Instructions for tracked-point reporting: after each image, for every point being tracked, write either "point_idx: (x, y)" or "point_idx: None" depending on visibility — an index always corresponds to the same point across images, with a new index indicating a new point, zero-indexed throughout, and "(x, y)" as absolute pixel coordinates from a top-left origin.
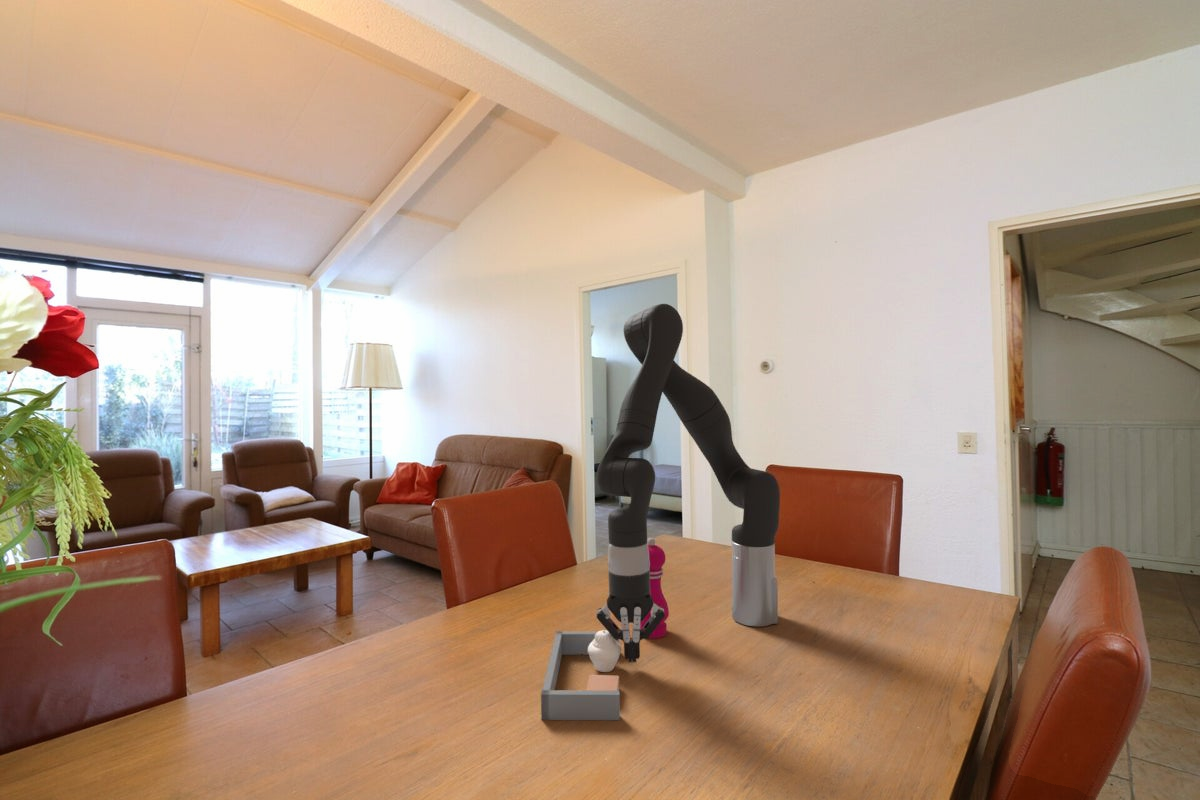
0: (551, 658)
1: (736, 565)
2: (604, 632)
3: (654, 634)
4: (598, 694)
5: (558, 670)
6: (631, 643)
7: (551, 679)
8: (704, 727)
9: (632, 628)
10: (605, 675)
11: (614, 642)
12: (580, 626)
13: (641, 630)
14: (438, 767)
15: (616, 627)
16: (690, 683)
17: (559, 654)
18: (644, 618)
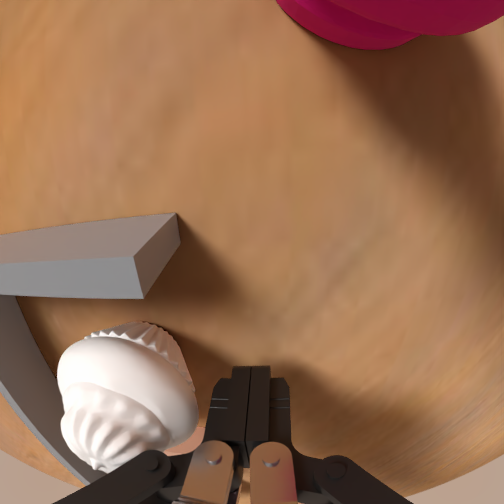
0: (27, 424)
1: None
2: (101, 467)
3: (380, 45)
4: None
5: (39, 356)
6: (249, 466)
7: (84, 479)
8: (381, 473)
9: (250, 485)
10: (177, 453)
11: (162, 448)
12: (14, 14)
13: (307, 496)
14: (67, 476)
15: (149, 491)
16: (423, 391)
17: (8, 349)
18: (349, 2)
